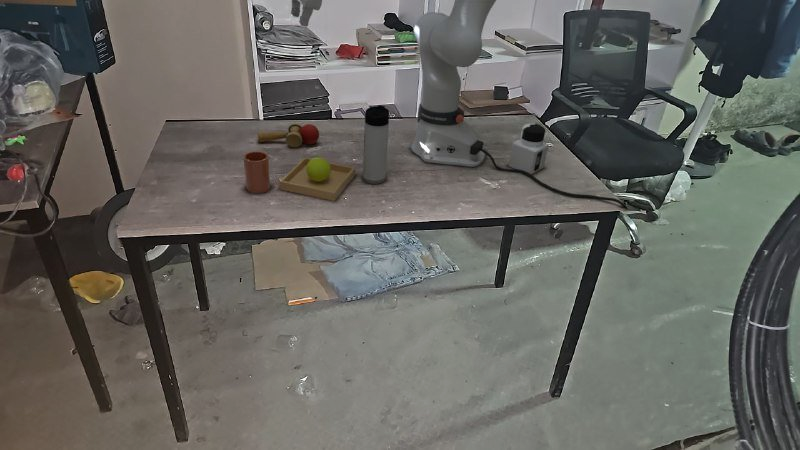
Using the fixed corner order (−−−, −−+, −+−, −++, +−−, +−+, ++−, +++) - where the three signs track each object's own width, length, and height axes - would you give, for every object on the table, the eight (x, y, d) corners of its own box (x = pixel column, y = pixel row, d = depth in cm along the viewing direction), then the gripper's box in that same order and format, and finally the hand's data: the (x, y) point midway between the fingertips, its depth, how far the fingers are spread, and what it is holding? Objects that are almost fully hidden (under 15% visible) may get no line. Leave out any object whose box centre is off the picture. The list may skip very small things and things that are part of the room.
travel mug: (389, 175, 156) (393, 107, 145) (380, 186, 151) (384, 116, 140) (368, 171, 158) (370, 103, 147) (359, 181, 152) (361, 111, 142)
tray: (355, 175, 155) (355, 167, 154) (334, 201, 143) (334, 192, 141) (304, 165, 158) (304, 157, 157) (279, 189, 146) (279, 181, 145)
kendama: (258, 152, 166) (319, 146, 166) (254, 131, 163) (316, 125, 164) (262, 145, 173) (321, 139, 173) (259, 125, 171) (318, 119, 171)
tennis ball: (334, 177, 152) (334, 155, 149) (325, 187, 147) (324, 166, 143) (312, 172, 153) (312, 151, 150) (302, 183, 148) (301, 161, 145)
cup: (274, 184, 148) (272, 153, 143) (263, 195, 143) (260, 163, 138) (253, 180, 149) (251, 149, 144) (242, 190, 144) (239, 159, 139)
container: (543, 167, 167) (553, 127, 160) (530, 175, 162) (539, 134, 155) (521, 158, 171) (530, 118, 164) (507, 166, 166) (515, 125, 159)
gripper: (336, -31, 120) (322, 34, 126) (314, -45, 135) (302, 14, 142) (307, -39, 117) (294, 28, 123) (288, -52, 133) (277, 8, 139)
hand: (298, 20), depth 132 cm, fingers open, 8 cm apart
